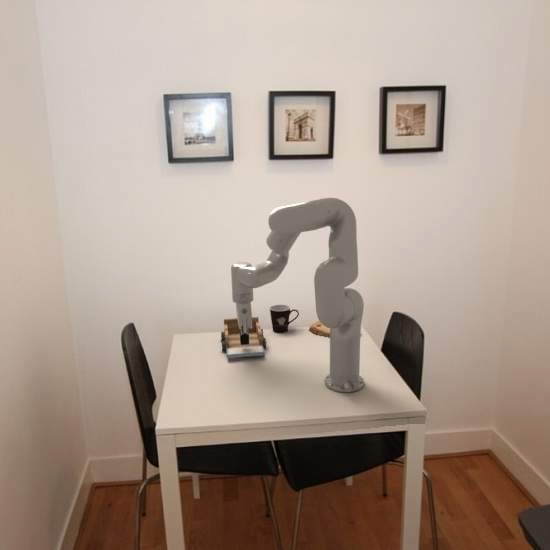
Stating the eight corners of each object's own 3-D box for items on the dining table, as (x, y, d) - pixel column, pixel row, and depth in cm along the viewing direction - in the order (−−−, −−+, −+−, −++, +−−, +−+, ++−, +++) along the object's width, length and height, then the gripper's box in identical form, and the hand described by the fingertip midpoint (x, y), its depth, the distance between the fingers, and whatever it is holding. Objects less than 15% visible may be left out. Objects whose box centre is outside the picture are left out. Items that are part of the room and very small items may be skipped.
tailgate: (262, 348, 178) (264, 355, 172) (226, 351, 176) (227, 357, 170) (262, 345, 177) (264, 351, 172) (226, 348, 176) (227, 354, 170)
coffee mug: (267, 333, 196) (266, 310, 194) (273, 325, 204) (273, 304, 202) (294, 335, 193) (294, 312, 191) (299, 328, 201) (299, 305, 199)
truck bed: (266, 350, 179) (266, 330, 177) (222, 353, 177) (221, 333, 175) (262, 334, 195) (261, 316, 193) (221, 337, 193) (220, 319, 191)
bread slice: (363, 337, 191) (364, 328, 190) (323, 343, 185) (323, 334, 184) (342, 322, 207) (342, 314, 206) (305, 328, 201) (305, 320, 200)
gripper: (255, 302, 163) (256, 351, 168) (251, 290, 177) (253, 335, 182) (233, 303, 162) (235, 352, 167) (231, 291, 176) (233, 337, 181)
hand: (244, 343), depth 174 cm, fingers closed
